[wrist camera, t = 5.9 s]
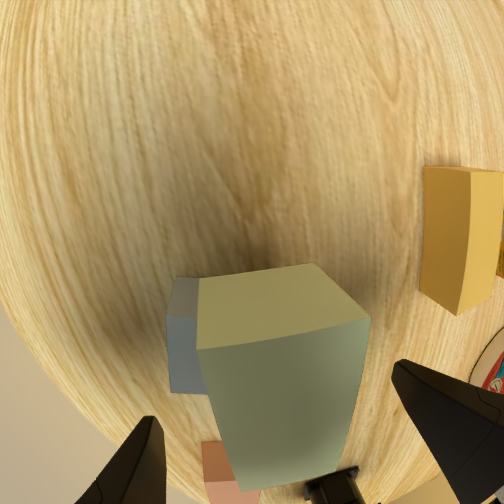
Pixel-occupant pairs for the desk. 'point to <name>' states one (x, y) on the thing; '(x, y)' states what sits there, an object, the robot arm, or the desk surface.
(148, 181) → the desk surface
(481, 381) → the fruit juice
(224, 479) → the terracotta brick
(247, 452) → the sage brick
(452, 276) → the mustard brick
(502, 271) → the supplement bottle
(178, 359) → the slate brick
